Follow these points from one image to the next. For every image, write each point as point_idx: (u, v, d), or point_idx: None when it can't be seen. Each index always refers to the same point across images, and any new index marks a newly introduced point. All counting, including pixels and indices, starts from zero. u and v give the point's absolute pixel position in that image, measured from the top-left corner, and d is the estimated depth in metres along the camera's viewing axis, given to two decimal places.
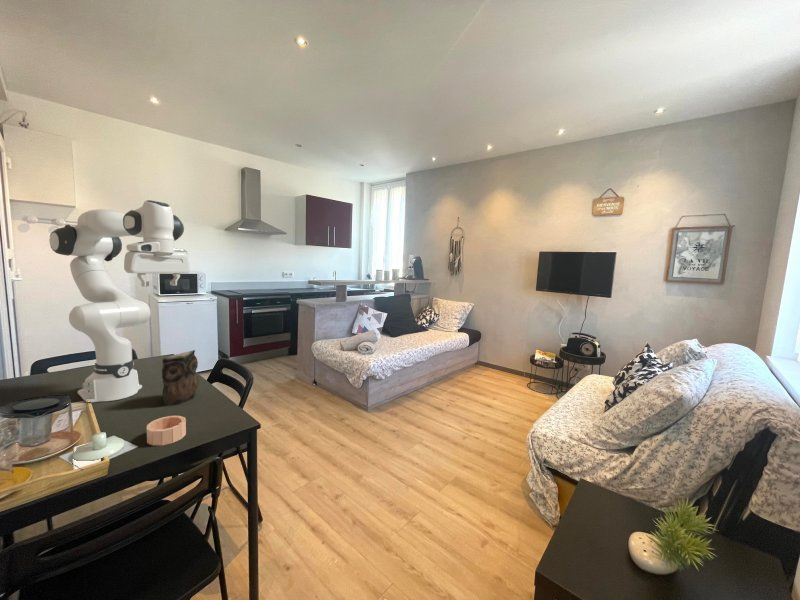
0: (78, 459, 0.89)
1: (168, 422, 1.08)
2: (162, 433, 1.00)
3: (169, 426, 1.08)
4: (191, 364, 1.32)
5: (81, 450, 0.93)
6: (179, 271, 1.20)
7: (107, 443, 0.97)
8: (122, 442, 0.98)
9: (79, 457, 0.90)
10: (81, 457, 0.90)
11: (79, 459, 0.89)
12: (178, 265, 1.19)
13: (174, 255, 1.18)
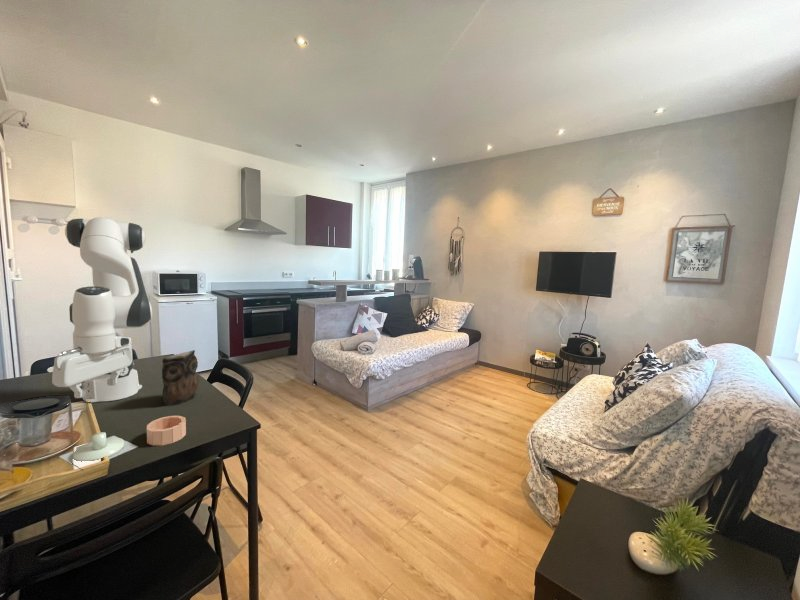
0: (78, 459, 0.89)
1: (168, 422, 1.08)
2: (162, 433, 1.00)
3: (169, 426, 1.08)
4: (191, 364, 1.32)
5: (81, 450, 0.93)
6: None
7: (107, 443, 0.97)
8: (122, 442, 0.98)
9: (79, 457, 0.90)
10: (81, 457, 0.90)
11: (79, 459, 0.89)
12: None
13: None
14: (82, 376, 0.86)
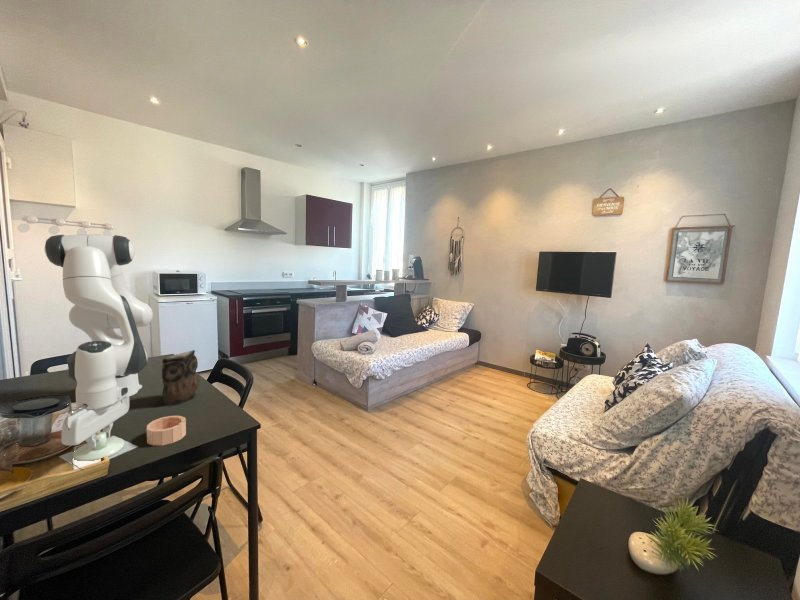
0: (78, 459, 0.89)
1: (168, 422, 1.08)
2: (162, 433, 1.00)
3: (169, 426, 1.08)
4: (191, 364, 1.32)
5: (81, 450, 0.93)
6: None
7: (107, 443, 0.97)
8: (122, 442, 0.98)
9: (79, 457, 0.90)
10: (81, 457, 0.90)
11: (79, 459, 0.89)
12: None
13: None
14: (89, 431, 0.89)
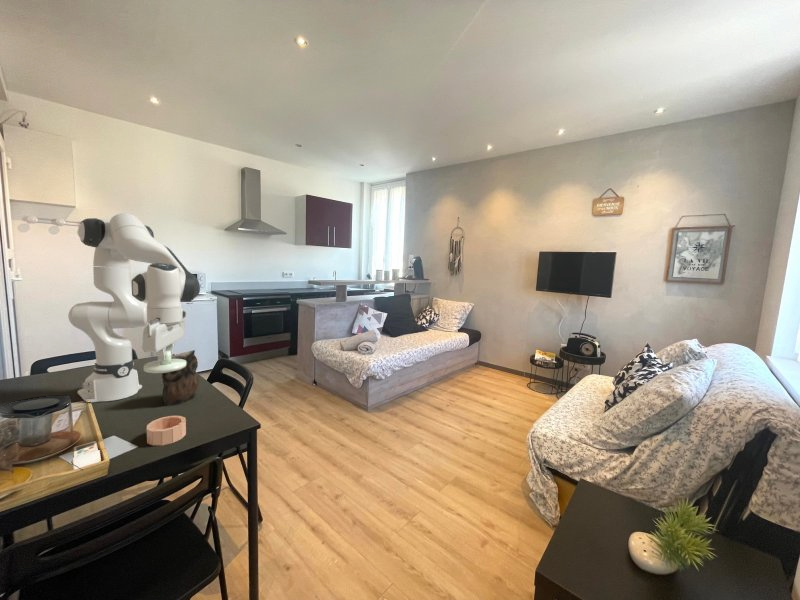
0: (152, 370, 0.97)
1: (168, 422, 1.08)
2: (162, 433, 1.00)
3: (169, 426, 1.08)
4: (191, 364, 1.32)
5: (149, 365, 1.00)
6: None
7: (170, 361, 1.04)
8: (184, 360, 1.06)
9: (152, 368, 0.97)
10: (154, 368, 0.97)
11: (153, 370, 0.97)
12: None
13: None
14: (163, 343, 0.96)
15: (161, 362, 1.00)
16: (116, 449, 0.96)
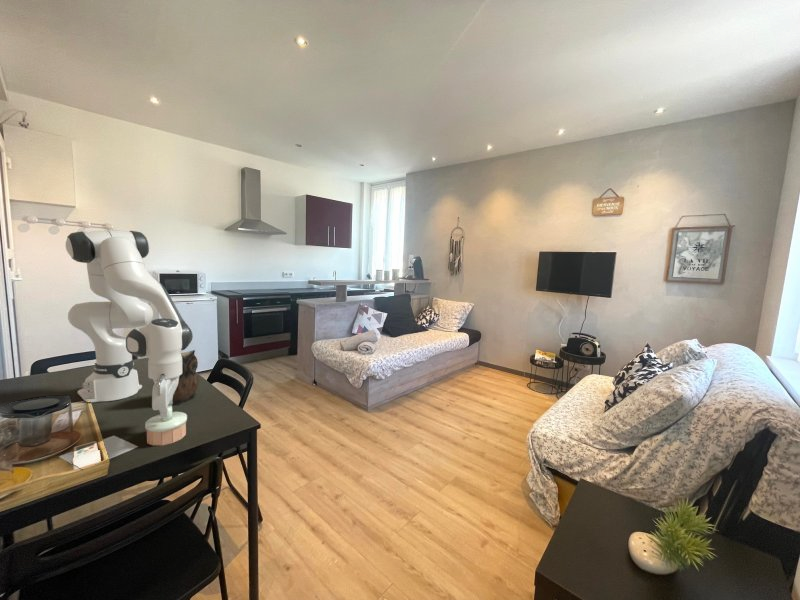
0: (157, 429, 0.99)
1: None
2: (162, 433, 1.00)
3: None
4: (191, 364, 1.32)
5: (151, 423, 1.01)
6: None
7: None
8: (183, 413, 1.08)
9: (157, 427, 0.99)
10: (159, 427, 0.99)
11: (158, 428, 0.99)
12: None
13: None
14: (169, 398, 0.99)
15: (163, 419, 1.03)
16: (116, 449, 0.96)
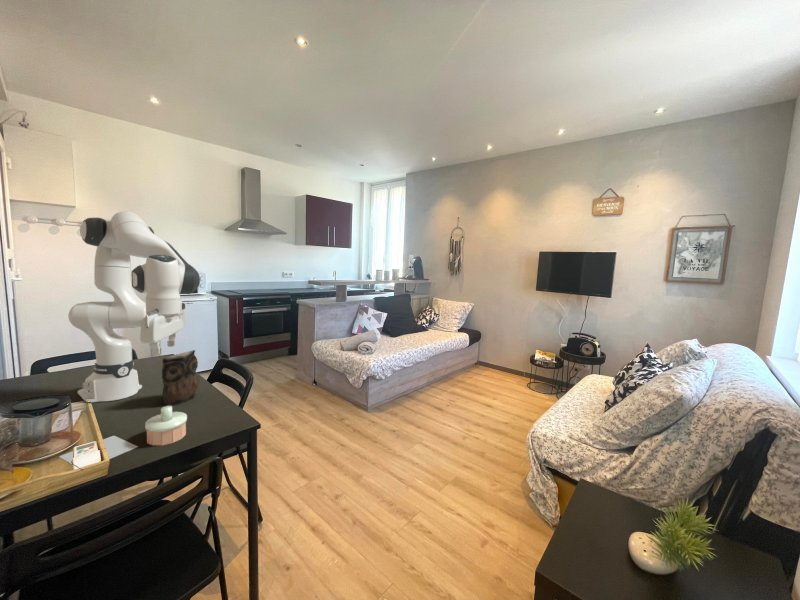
0: (157, 429, 0.99)
1: None
2: (162, 433, 1.00)
3: None
4: (191, 364, 1.32)
5: (151, 423, 1.01)
6: None
7: None
8: (183, 413, 1.08)
9: (157, 427, 0.99)
10: (159, 427, 0.99)
11: (158, 428, 0.99)
12: None
13: None
14: (161, 334, 0.96)
15: (163, 419, 1.03)
16: (116, 449, 0.96)
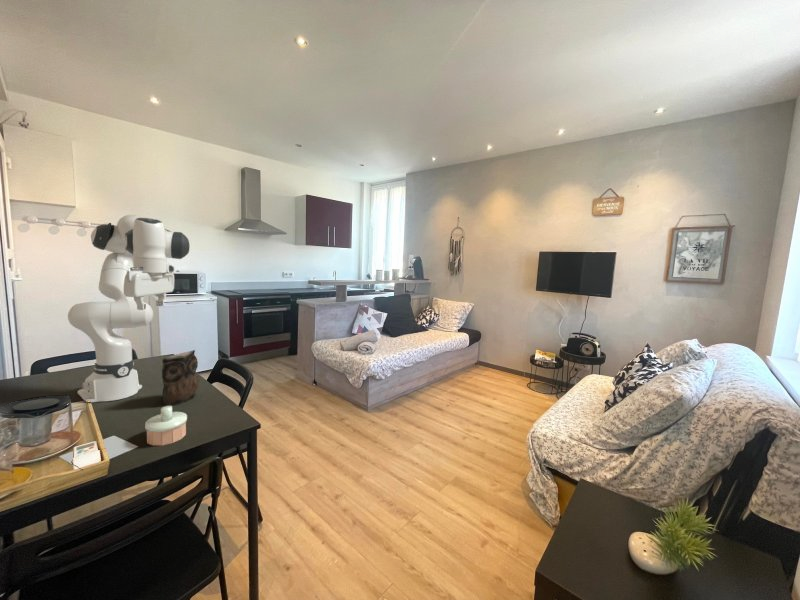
0: (157, 429, 0.99)
1: None
2: (162, 433, 1.00)
3: None
4: (191, 364, 1.32)
5: (151, 423, 1.01)
6: None
7: None
8: (183, 413, 1.08)
9: (157, 427, 0.99)
10: (159, 427, 0.99)
11: (158, 428, 0.99)
12: None
13: None
14: (145, 290, 1.03)
15: (163, 419, 1.03)
16: (116, 449, 0.96)
